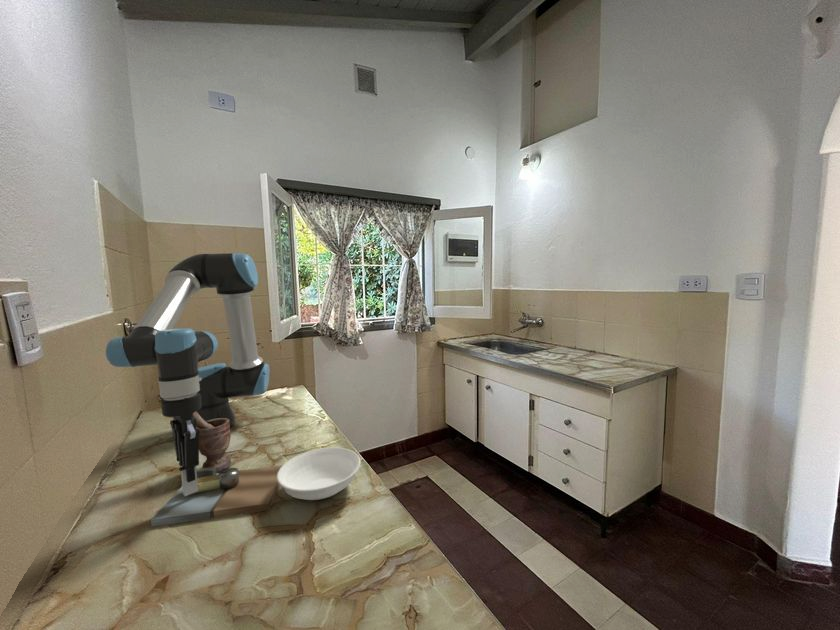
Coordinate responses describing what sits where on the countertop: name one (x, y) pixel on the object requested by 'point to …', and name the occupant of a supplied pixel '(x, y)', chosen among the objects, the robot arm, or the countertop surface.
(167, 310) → the robot arm
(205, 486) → the swing bar
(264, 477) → the board
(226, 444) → the mortar and pestle
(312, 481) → the bowl
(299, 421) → the countertop surface
